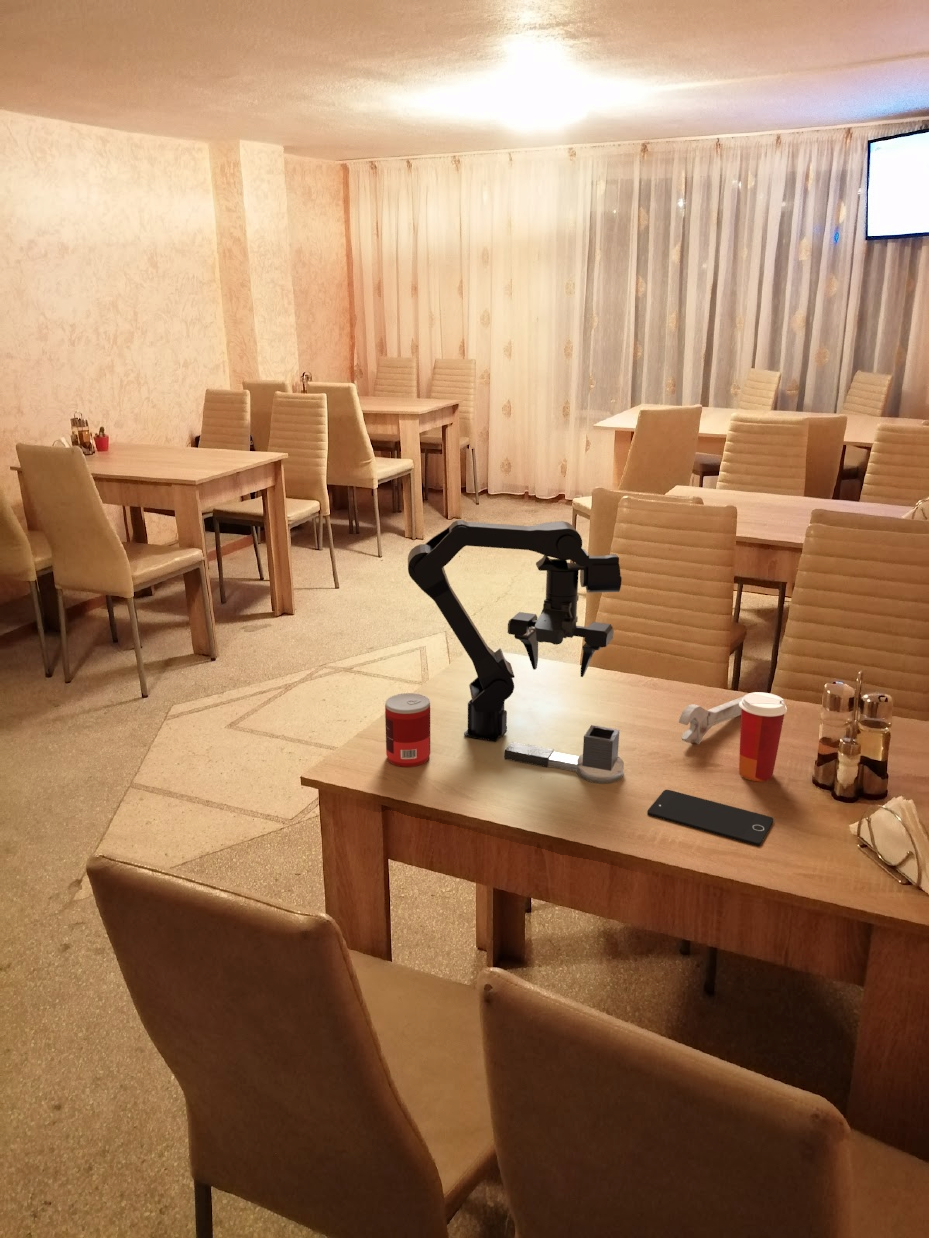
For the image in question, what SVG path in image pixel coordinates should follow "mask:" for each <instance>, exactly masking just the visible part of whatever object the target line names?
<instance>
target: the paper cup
mask: <svg viewBox="0 0 929 1238" xmlns="http://www.w3.org/2000/svg"><path fill="white" fill-rule="evenodd" d="M743 696H744V697H743ZM743 696H742V697H743V698H742V700H741V702H739V706H740V707H741V715H740V730H739V731H740V733H739V736H740V737H739V756H738V757H739V758H738V762H739V763H738V773H739V775H740V777H742V778H744V779H746V780H749V781H752V782H767V781H770V780H772V778H773V775H774V770H775V766H776V765H775V764H776V760H777V755H778V750H779V745H780V739H781V733H782V729H783V723H784V719H785V714H787V711H788V708H787V706H786V703H785V700H784V699H783V698H782V697H781V696H779V695H776V694H774V693H770V692H769V693H768V692H762V691H761V692H760V691H759V692H758V691H757V692H756V691H754V692H749V693H746V694H745V695H743Z"/></svg>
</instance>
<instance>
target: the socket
mask: <svg viewBox="0 0 929 1238" xmlns="http://www.w3.org/2000/svg"><path fill="white" fill-rule="evenodd" d="M619 742H620V729H617V728H611V727H605V726H600V725H599V726H598V725H592V724H591V725H590V726H589V728H588V729H587V731H586V733H585V734H584V736H583V744H582V745H583V746H582V748H583V749H582V754H583V763H582V766H587V767H592V768H598V769H603V770H609V771H611V770H612V768H613V766H614V764H615V763H616V761H617V759H618V757H619V745H620V743H619Z"/></svg>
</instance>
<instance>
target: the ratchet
mask: <svg viewBox="0 0 929 1238" xmlns="http://www.w3.org/2000/svg"><path fill="white" fill-rule="evenodd" d="M503 758H504V760H507V761H514V762H519V763H523V764H528V765H535V766H539V767H545V768H549V767H550V768H553V769H559V770H564V771H569V772H574V773H577V775H578V777H580V778H581V779H583V780H585V781H587V782H591V783H595V784H612V783H615V782H618V781H620V780H621V779H622V778H623V776H624V768H625V767H624V765H625V763H624V760H623V759H622V758H621V757H620V756H618V759H617V761H616V763H615V764H614V766H613V768H612V770H611V771H609V770H603V769H598V768H592V767H587V766H582V763H583V753H582V754H580V755H574V754H567V753H561V752H556V751H555V750H554V749H553V748H547V747H543V746H536V745H532V744H531V745H530V744H526V743H521V742H520V743H519V742H515V741H511V742H509V743H508V745H507V747H506V748H505V749H504V757H503Z"/></svg>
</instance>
